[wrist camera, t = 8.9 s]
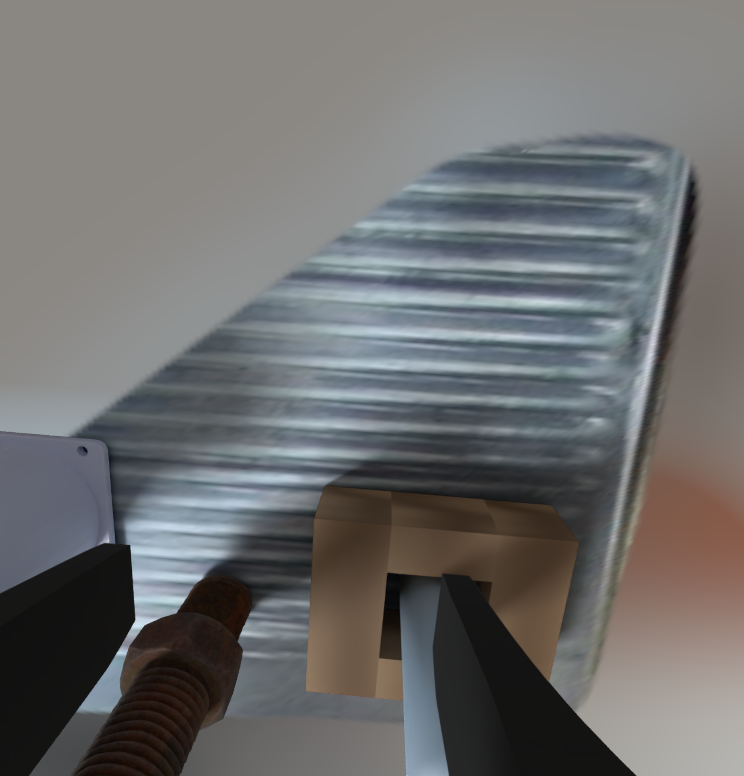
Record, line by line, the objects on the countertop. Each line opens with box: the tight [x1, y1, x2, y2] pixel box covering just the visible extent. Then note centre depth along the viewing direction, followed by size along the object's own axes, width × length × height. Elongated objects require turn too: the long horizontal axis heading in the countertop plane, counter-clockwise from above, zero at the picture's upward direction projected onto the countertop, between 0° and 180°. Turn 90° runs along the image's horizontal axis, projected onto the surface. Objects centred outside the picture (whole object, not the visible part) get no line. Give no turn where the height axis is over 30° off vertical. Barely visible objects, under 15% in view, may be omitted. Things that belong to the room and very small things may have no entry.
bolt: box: [71, 575, 252, 776], centre depth 15 cm, size 6×5×15 cm
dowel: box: [399, 574, 449, 776], centre depth 16 cm, size 3×3×10 cm
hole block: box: [306, 486, 579, 701], centre depth 20 cm, size 11×9×3 cm
